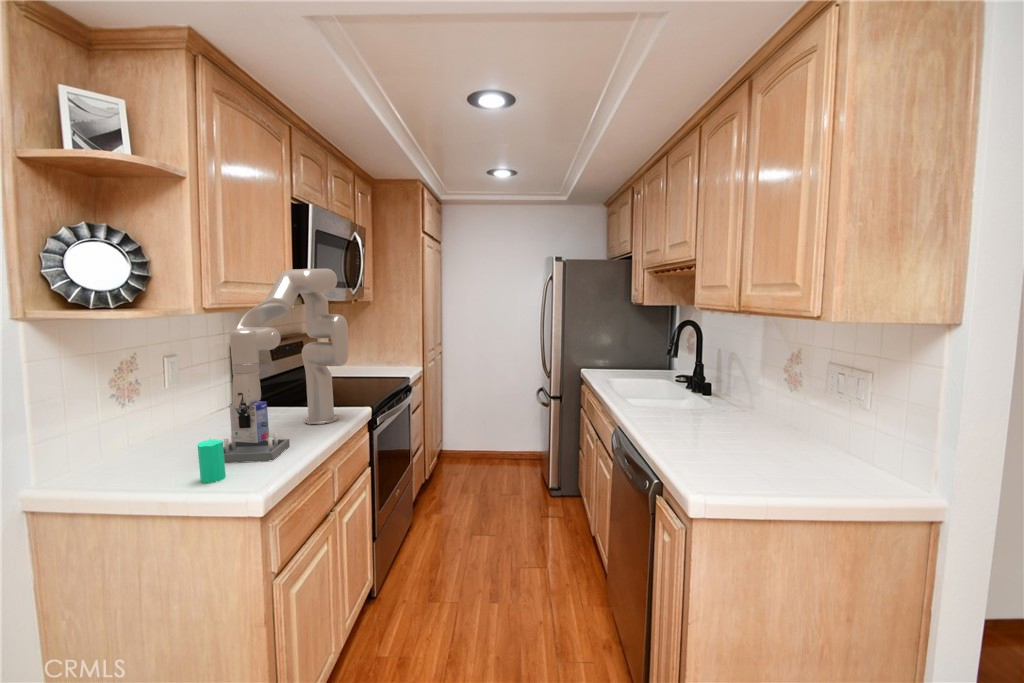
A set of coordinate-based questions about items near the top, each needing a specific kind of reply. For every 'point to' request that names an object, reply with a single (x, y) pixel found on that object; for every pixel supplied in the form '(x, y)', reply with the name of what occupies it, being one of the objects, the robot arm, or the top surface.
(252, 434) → the ink cartridge box
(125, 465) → the top surface
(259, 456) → the pin tray
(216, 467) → the candle
